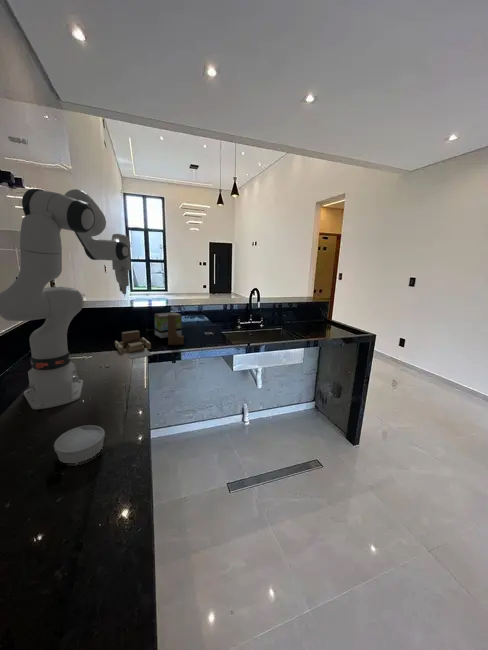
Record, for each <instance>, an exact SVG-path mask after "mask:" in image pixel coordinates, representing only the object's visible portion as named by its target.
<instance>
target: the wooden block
mask: <svg viewBox="0 0 488 650" xmlns="http://www.w3.org/2000/svg"><path fill="white" fill-rule="evenodd" d="M167 338H168V339H167V344H168V346H174V345H175V346H177V345H178V346H179V345H181V346H182V345H185V341H184V340H185V339H184V335H183V334H181V335H178V334H177V333H176V315H175V314H168V337H167Z"/></svg>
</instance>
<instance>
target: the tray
mask: <svg viewBox="0 0 488 650" xmlns="http://www.w3.org/2000/svg"><path fill="white" fill-rule="evenodd" d="M140 342H142V343H143V344H144V345H145V346H146V347H147V350H151V349H152V343H151V342H150V341H149V340H147V339H146V338H145V337H144V336H143V337H141V336H140ZM114 347H115V348H116V350H118V352H119V354H129V352H128V351H127V348H124V347H123V345H122V341H120V342H119V341H118V340H114Z"/></svg>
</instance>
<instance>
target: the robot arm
mask: <svg viewBox="0 0 488 650" xmlns="http://www.w3.org/2000/svg"><path fill="white" fill-rule="evenodd" d="M21 205H22V210H23V213H24V217H23V218H22V220H21V225H20V231H19V249H20V252H19V253H20V266H19V273H18V275H17V278H16V279H15V280H14V282H13V283H12V284H11V285H9V287H8V288H7V289H4V290H2V292H0V317H1V318H3V319H4V320H6V321H10V322H11V321H14V322H27V321H35V320H42V319H45V320H44V323H43V324H42V325H41V326H40V327H38V328H37V329H35V330H34V331H32V332H31V334H30V336H29V339H28V340H29V347H30V352H31V356H30V364H31V368H30V369H29V370H28V371H27V374H28V375H27V376H28V381H29V382H28V383H29V384H28V389H26V390H25V391H23V396H24V398H25V399H26V401H27V402H28V404H29V406H30V407H31V409H32V410H42V409H50V408H54V407H59V406H63V405H67V404H69V403H72V402H75V401H77V400H79V399H80V398H81V395H82V390H83V386H84V380H83V379H79V378H80V376H79V375H77V373H78V370H77V368H76V364H75V363H73V362H72V361H71V354H70V350H68V349H69V348H68V338H67V337H68V330H69V326H70V325H71V324H70V323H71V322H72V321H73V319H74V317H76V316H77V314H79V313H80V312H81V310H82V309H83V307H84V297H83V295H82V293H81V292H80V291H79V290H78V289H77V288H74V287H73V288H72V287H64V286H54V287H53V286H51V287H46V286H47V285H48V284H49V283H50V282H52V281H53V280H56V279H57V278H59V277H60V275H61V274H62V271H63V261H62V260H63V252H62V248H63V247H62V240H61V239H62V238H61V231H62V230H67V231H73V232H74V234H75V236H76V238H77V239H78V241H79V243H80V244H81V246H82V247H83V250H84V252H85V255H86V256H87V257H88V258H89V259H90V260H93V261H111V264H112V265H111V266H112V270H114V274H115V275H114V276H115V279H116V282H117V283H118V287H119V292H121V293H122V295H126V294H127V287H129V286H130V280H129V271H131V270H132V268H131V267H132V265H131V263H132V261H131V257H130V255H131V246H130V244H131V243H130V241H129V237H128V236H127V235H125V234H123V233H122V234H121V233H113V234H112V235H111V239H101V238H100V239H98V238H94V237H96V236H98V235H99V236H100V234H102V233H103V232H104V230H105V229H106V225H107V219H106V216H105V215H104V212H103V211H102V210H101V209H100V207H99V205H98V204H97V203H96V202H95V200H94V199H93V198H92V197H91V196H90V195H89V194H87V192H85V191H83V190H81V189H77V188H76V189H74V188H73V189H70V190H68V191H67V192H65V193H64V194H61V193H59V192H54V191H49V190H45V189H43V188H30V189H27V190H26V191H25V192H24V194H23V196H22V199H21Z"/></svg>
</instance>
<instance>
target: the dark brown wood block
mask: <svg viewBox="0 0 488 650" xmlns="http://www.w3.org/2000/svg"><path fill="white" fill-rule="evenodd" d="M140 339H141V332H140V330H138V329H136V330H128V331H122V332H121V342H122V345H123V347H124V348H127V346H128V344H130V343H136V342H140Z"/></svg>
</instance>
